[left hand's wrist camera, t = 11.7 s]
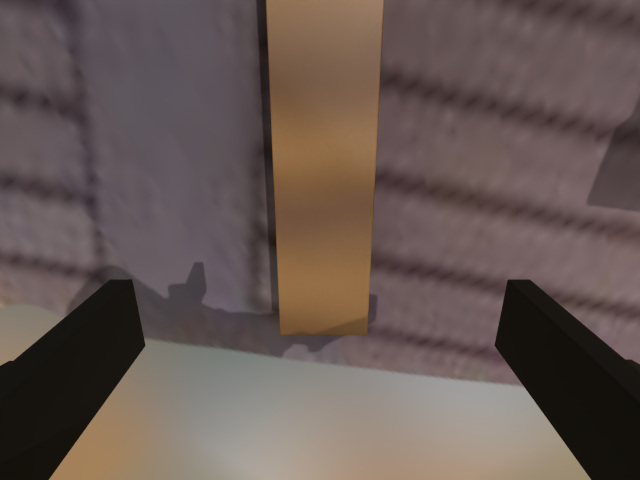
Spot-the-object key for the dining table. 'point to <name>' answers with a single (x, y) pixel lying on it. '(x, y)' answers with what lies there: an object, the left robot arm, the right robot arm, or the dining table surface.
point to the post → (324, 158)
